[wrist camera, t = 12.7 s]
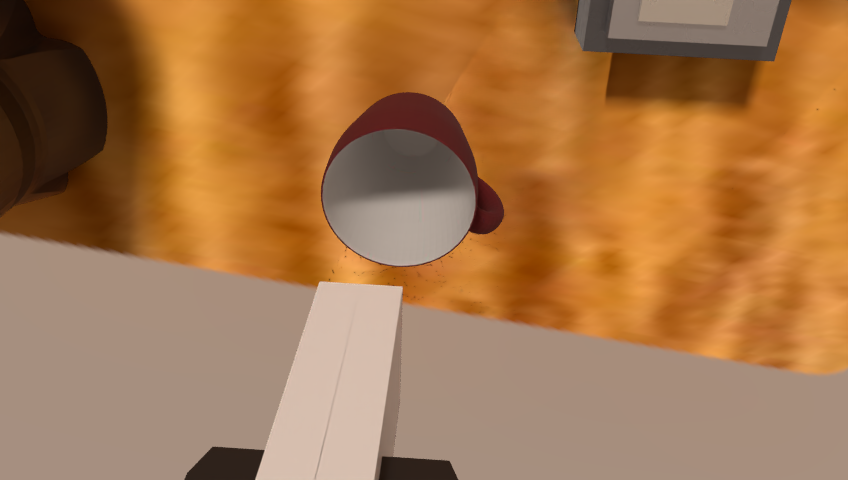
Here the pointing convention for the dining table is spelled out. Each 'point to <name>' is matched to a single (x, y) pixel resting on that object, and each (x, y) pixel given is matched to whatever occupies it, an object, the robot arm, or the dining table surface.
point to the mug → (406, 184)
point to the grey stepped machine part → (683, 27)
